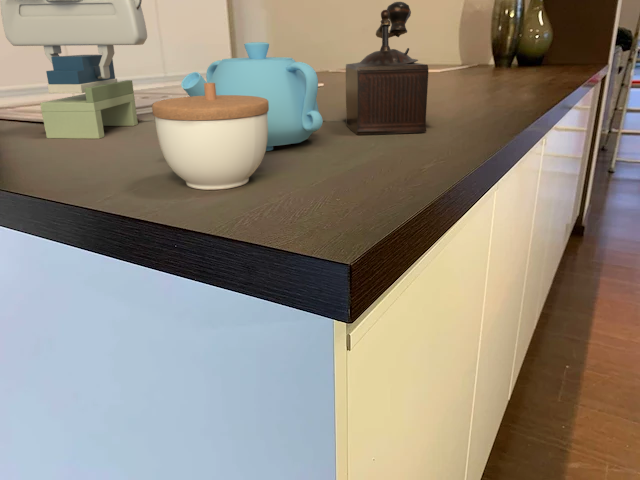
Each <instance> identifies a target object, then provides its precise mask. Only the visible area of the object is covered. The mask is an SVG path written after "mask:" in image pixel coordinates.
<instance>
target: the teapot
mask: <svg viewBox="0 0 640 480" xmlns="http://www.w3.org/2000/svg"><path fill="white" fill-rule="evenodd" d="M243 45H244V49H245V52H246V54H247V56H248V57H232V58H223V59H221V60H220V59H219V60H216V61H213V62H212V63H210V64H209V65H208V66H207V68H206V74H205V76H206V77H205V78H206V80H205V79H204V77H203V75H201V73H200V72H198V71H193V72H190V73H188V74H187V75H186V76H184V78H183V79H182V81H181V82H180V83H181V84H180V86H181V88H182V89H183V90H184V92H186V94H187V95H188V97H191V96H205V90H204V83H215V87H216V95H242V96H255V97H261V98H265V99H267V100H268V104H269V111H268V140H267V146H266V151H265V152H269V151H273V150H274V147H275V146H277V147H278V146H285V145H291V144H300V143H302V142H304V141H306V140H308V139H309V138H310V137H311V135H312V134H313V133H314V132H317V131H319V130H320V129H321V127H322V126H323V123H324V122H323V117H322V114H321V113H320V110H319V105H318V101H317V96H318V92H319V78H318V75H317V72H316V70H315V69H314V67H312V66H311V65H310V64H308V63H306V62H303V61H296V60H295V59H293V57H288V56H287V57H285V56H281V57H280V56H277V57H276V56H267V55H268V52H269V48H270V43H269V42H264V41H254V42H253V41H252V42H246V43H244V44H243Z"/></svg>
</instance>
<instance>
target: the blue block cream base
mask: <svg viewBox="0 0 640 480" xmlns="http://www.w3.org/2000/svg"><path fill="white" fill-rule="evenodd" d="M102 55H103V54H76V55H75V54H73V55H72V54H71V55H59V56H57V57H51V59H52V63H51V64H52V70H46V71H45V73H46V78H47V83H48V84H47V90H48V93H49V94H85V88H87V87H93V86H98V85H104V84H109V83H115V82H118V78H116V74H115V67H114V59H113V58H112V61H111V63H110V65H109V71H110V78H107V79H97V78H96V77H95V73H96V72H95V71H94V66H99V64H100V61H101V58H102Z"/></svg>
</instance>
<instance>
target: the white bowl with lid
mask: <svg viewBox="0 0 640 480" xmlns="http://www.w3.org/2000/svg"><path fill="white" fill-rule="evenodd" d="M204 90H205V96H191V97H190V96H181V97H173V98H167V99H161V100H158V101H157V100H156V101H155V102H153V103H152V105H151V111H152V115H153V117H154V123H155V130H156V137H157V140H158V144H159V145H158V146H159V147H160V151H161V153H162V156H163V157H164V160H165V162H166V163H167V165H168V167H169V168H170V169H171V170H172V172H174V174H175V175H177V176H178V177H179V178H181V179H182V180H183V181H185V184H186V186H187V187H189V188H192V189H197V190H208V191H209V190H214V191H215V190H226V189H233V188H238V187H241V186H243V185H246V184H247V183H249V181H250V177H251V176H252V175H253V174H254V173H255V172H256V171H257V169H258V168H259V167H260V165H261V164H262V161H263V160H264V157H265V154H266V152H267V151H266V146H267V140H268V111H269V104H268V100H267V99H265V98H261V97H255V96H242V95H216V87H215V83H204Z"/></svg>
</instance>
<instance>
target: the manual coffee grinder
mask: <svg viewBox="0 0 640 480" xmlns="http://www.w3.org/2000/svg"><path fill="white" fill-rule="evenodd" d="M411 14H412V10H411V8H410V5H409V4H408V3H406V2H404V1H393V2H392V3H390V4H389V5H388V6H387V8H386V9H383V10H381V11H380V19H381V20H380V25H379V27H378V28H377V30H376V31H375V36H376V37H377V38H380V39H381V47H380V49H379V50H376V51H373V52H371V53H369V54H367V55H366V56H364V58H363V59H361V61H359V62H353V63H346V64H345V108H346V109H345V112H346V121H345V123H346V127H347V128H348V129H349V130H350V131H351V132H353V133H354V134H355V135H393V134H394V135H395V134H416V133H417V134H418V133H420V134H421V133H423V134H424V133H426V132H427V126H426V124H427V107H428V105H427V104H428V87H429V65H428V64H425V63H420V62H419V59H416V58H412V57H411V56H410V55H408V54H409V51H410V48H409V47H408V48H406V49H405V52H403V51H401V50H398V49H395V48H391V47H390V45H389V39H391V38H393V37H396V38H400V36H402V35H405V34H407V33H408V29H407V27H406V23H407V22H408V20H409V18H410V17H411ZM389 28H390V29H389Z"/></svg>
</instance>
